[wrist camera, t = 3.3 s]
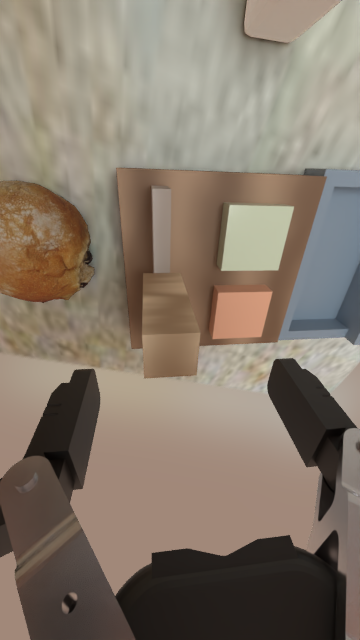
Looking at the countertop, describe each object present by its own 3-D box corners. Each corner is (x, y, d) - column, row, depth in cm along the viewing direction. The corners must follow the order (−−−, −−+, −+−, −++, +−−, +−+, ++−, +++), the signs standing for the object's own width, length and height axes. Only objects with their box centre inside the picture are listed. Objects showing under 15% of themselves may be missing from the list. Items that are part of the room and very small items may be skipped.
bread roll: (67, 174, 24) (-4, 124, 16) (124, 269, 25) (84, 265, 17) (-8, 232, 25) (-104, 213, 18) (48, 318, 26) (-19, 335, 19)
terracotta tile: (208, 329, 26) (212, 339, 24) (214, 285, 23) (218, 292, 22) (255, 328, 26) (261, 337, 25) (265, 284, 24) (272, 291, 22)
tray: (265, 326, 31) (281, 348, 27) (305, 168, 22) (338, 169, 19) (337, 323, 32) (363, 344, 29) (403, 172, 24) (453, 174, 20)
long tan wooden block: (146, 340, 25) (147, 440, 16) (140, 185, 18) (134, 205, 9) (174, 339, 26) (190, 437, 16) (178, 186, 18) (212, 207, 9)
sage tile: (216, 264, 22) (221, 270, 21) (223, 202, 19) (229, 205, 18) (270, 264, 23) (278, 270, 21) (284, 203, 20) (294, 206, 19)
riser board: (133, 327, 29) (131, 348, 26) (120, 167, 21) (116, 168, 17) (262, 322, 31) (277, 342, 28) (299, 174, 23) (327, 176, 19)
